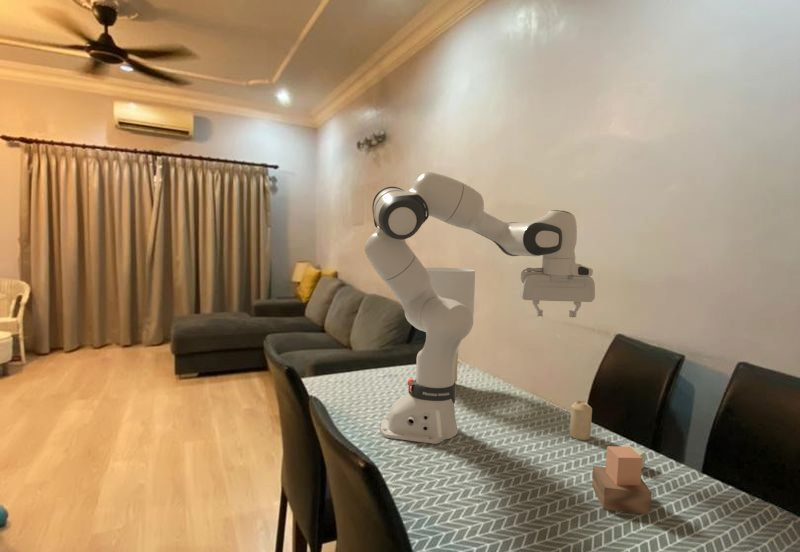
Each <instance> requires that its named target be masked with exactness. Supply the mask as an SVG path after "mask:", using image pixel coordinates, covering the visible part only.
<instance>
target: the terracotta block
mask: <svg viewBox="0 0 800 552" xmlns="http://www.w3.org/2000/svg"><path fill="white" fill-rule="evenodd" d="M631 447H632V446H631ZM631 447H621V446H616V445H615V446H614V445H611V446H609V445H608V446H607V447H606V459H605V460H606V461H605V463H606V464H605V467H606V474H607V475H608V476H609V477H610V478H611V479H612V480H613V481H614V483H615V484H616V485H640V484H641V478H642V469H643V468H642V457H641V456H640V455H639V454H637V453H636V452H635V451H634V450H633V449H632V448H631Z"/></svg>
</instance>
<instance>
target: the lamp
mask: <svg viewBox="0 0 800 552" xmlns="http://www.w3.org/2000/svg"><path fill="white" fill-rule="evenodd" d="M425 269H426V270H427V271H428V273H429V274H430V284H431V286H432V288H433V290H434V292H435V293H436V294H438V295H439V296H441V297H443V298H447V299H452V300H456V301H458V302H460V303H462V304H463V305H465V306H466V307H468V308H469V309H470V311H471V312H472V315H473V316H474V312H475V311H474V307H475V291H476V290H475V289H476V288H475V286H476V270H475V269H471V268H457V267H456V268H455V267H425ZM426 337H427V334H426V333H425V338H426ZM458 362H459V349H458V350H457V354H456V359H455V374H454V382H455V383H457V381H458V364H459V363H458Z"/></svg>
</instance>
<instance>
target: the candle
mask: <svg viewBox="0 0 800 552" xmlns="http://www.w3.org/2000/svg"><path fill="white" fill-rule="evenodd" d="M592 415H593V408H592V406H590V405H589V404H588V403H587V402H586V401H584V400H577V401H575V402H574V403H572V404H571V405H570V422H569V423H570V424H569V436H570V437H572V438H573V439H576V440H579V441H588V440H590V439H591V433H592V432H591V431H592V419H593V418H592Z"/></svg>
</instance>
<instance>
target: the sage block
mask: <svg viewBox="0 0 800 552" xmlns="http://www.w3.org/2000/svg"><path fill="white" fill-rule="evenodd" d="M620 447H631V448H632V449H633V450H634V451H635V452H636V453H637V454H639V455H640V456H641V457H642V469H643V468H645V466H646V465H645V464H646V454H647V453H646V451H645V450H642V449H639V448H636V447H633V446H631V445H627V444H623V445H622V446H620Z"/></svg>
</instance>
